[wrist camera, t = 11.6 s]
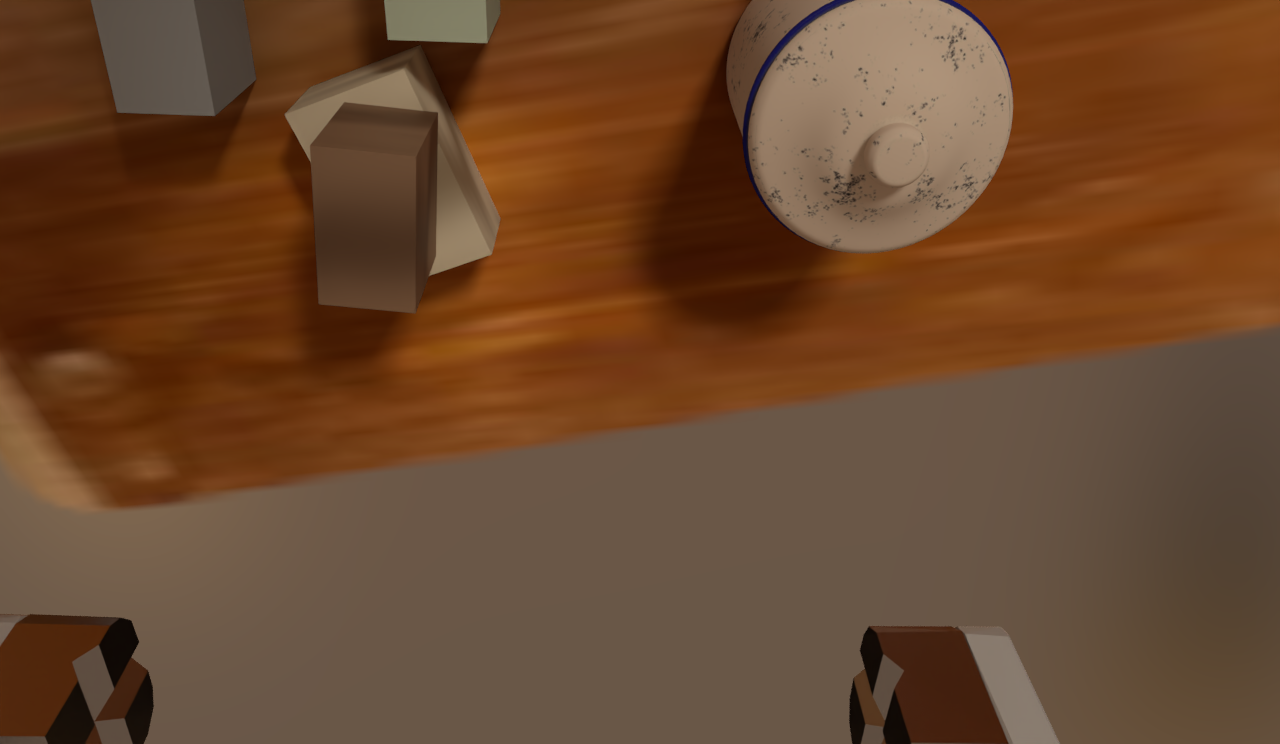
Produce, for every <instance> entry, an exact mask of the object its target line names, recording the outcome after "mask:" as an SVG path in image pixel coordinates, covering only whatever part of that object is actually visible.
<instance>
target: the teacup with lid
mask: <svg viewBox="0 0 1280 744" xmlns="http://www.w3.org/2000/svg"><path fill="white" fill-rule="evenodd" d="M726 80H727V89H728V94H729V99H730V102H731V105H732V109H733V111H734V114H735V117H736V120H737V123H738V125H739V128H740V131H741V134H742V137H743V151H744V158H745V163H746V168H747V171H748V174H749V177H750V180H751V182H752V184H753V187H754V189H755V191H756V193H757V195H758V196H759V198H760V200H761V201H762V203H763V204H764V205H765V207H766V208H767V210H768V211H769V212H770V213H771V214H772V215H773V216H774V217H775V219H776V220H778V221H779V222H780V223H781V224H782V225H783V226H784V227H786V228H787V229H788V230H790V231H791V232H793V233H794V234H796V235H798V236H799V237H801V238H803V239H805V240H807V241H809V242H811V243H814V244H816V245H819V246H822V247H825V248H828V249H832V250H836V251H841V252H849V253H878V252H884V251H890V250H895V249H899V248H902V247H905V246H908V245H912V244H914V243H917V242H919V241H921V240H924V239H926V238H928V237H930V236H932V235H933V234H935V233H937V232H939V231H940V230H942V229H943V228H945V227H947V226H948V225H949V224H951V223H952V222H953V221H955V220H956V219H957V218H958V217H959V216H961V215H962V214H963V213H964V212H965V211H966V210H967V209H968V208H969V207H970V206H971V205H972V204H973V203H974V202H975V201H976V200H977V198H978V197H979V196H980V195H981V193H982V192H983V191H984V190H985V188H986V187H987V185H988V184H989V182H990V181H991V179H992V177H993V176H994V174H995V172H996V170H997V169H998V167H999V164H1000V162H1001V160H1002V158H1003V155H1004V152H1005V149H1006V147H1007V144H1008V140H1009V136H1010V131H1011V125H1012V116H1013V93H1012V84H1011V78H1010V73H1009V70H1008V66H1007V63H1006V60H1005V58H1004V55H1003V53H1002V51H1001V49H1000V47H999V45H998V43H997V41H996V40H995V38H994V37H993V36H992V34H991V33H990V31H989V30H988V29H987V28H986V26H985V25H984V24H983V23H982V22H981V21H980V20H979V19H978V18H977V17H976V16H975V15H974V14H972V13H971V12H970V11H969V10H967V9H966V8H964V7H963V6H961V5H960V4H958V3H957V2H955V1H953V0H752V1H751V2H750V4H749V5H748V6H747V8H746V10H745V11H744V13H743V14H742V16H741V18H740V20H739V22H738V24H737V26H736V28H735V31H734V34H733V36H732V40H731V43H730V47H729V52H728V57H727V68H726Z"/></svg>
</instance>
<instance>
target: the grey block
mask: <svg viewBox="0 0 1280 744" xmlns="http://www.w3.org/2000/svg"><path fill="white" fill-rule="evenodd" d="M91 3H92V8H93V12H94V16H95V20H96V24H97V29H98V33H99V37H100V41H101V46H102V50H103V54H104V58H105V63H106V67H107V71H108V75H109V79H110V84H111V88H112V92H113V96H114V101H115V105H116V109H117V113H141V114H171V115H200V116H216V115H217V114H218V113H219V112H220V111H221V110H222V109H224V108H225V107H226V106H227V105H228V104H229V103H230V102H231V101H233V100H234V99H235V98H236V97H237V96H238V95H239V94H241V93H242V92H243V91H244V90H245V89H246V88H247V87H248V86H250V85H251V84H252V83H253V82H254V81H255V80H256V75H255V69H254V62H253V56H252V50H251V44H250V37H249V31H248V25H247V19H246V12H245V6H244V0H91Z"/></svg>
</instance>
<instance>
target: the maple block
mask: <svg viewBox="0 0 1280 744" xmlns="http://www.w3.org/2000/svg"><path fill="white" fill-rule="evenodd" d="M344 102H348V103H357V104H366V105H375V106H384V107H393V108H402V109H411V110H420V111H429V112H438V155H437V224H436V257H435V260H434V263H433V266H432V269H431V272H430V274H429V276H430V275H433V274H436V273H439V272H442V271H445V270H448V269H451V268H454V267H457V266H460V265H462V264H465V263H468V262H471V261H474V260H477V259H480V258H483V257H486V256H489V255H492V252H493V248H494V244H495V240H496V235H497V231H498V227H499V223H500V216H499V214H498V212H497V210H496V208H495V206H494V203H493V201H492V199H491V197H490V195H489V193H488V190H487V188H486V186H485V184H484V182H483V180H482V177H481V175H480V173H479V171H478V169H477V166H476V164H475V162H474V160H473V158H472V156H471V153H470V151H469V149H468V147H467V145H466V143H465V140H464V138H463V136H462V134H461V132H460V130H459V127H458V125H457V123H456V121H455V119H454V117H453V114H452V112H451V110H450V108H449V106H448V104H447V101H446V99H445V97H444V95H443V93H442V91H441V88H440V86H439V84H438V82H437V80H436V78H435V75H434V73H433V71H432V69H431V67H430V65H429V62H428V60H427V58H426V56H425V54H424V51H423V49H422V47H421V45H419V46H416V47H414V48H411V49H408V50H406V51H403V52H401V53H398V54H395V55H393V56H390V57H387V58H385V59H382V60H380V61H377V62H374V63H372V64H369V65H367V66H364V67H361V68H359V69H356V70H354V71H351V72H348V73H346V74H343V75H340V76H338V77H335V78H333V79H330V80H327V81H325V82H322V83H320V84H317V85H314V86H312V87H310V88H309V89H308V90H307V91H306V92H305V93H304V94H303V95H302V96H301V97H300V98H299V99H298V100H297V102H296V103H295V104H294V105H293V106H292V107H291V108H290V109H289V110H288V111H287V112H286V113H285V114H284V115H285V117H286V119H287V121H288V122H289V124H290V126H291V128H292V130H293V131H294V133H295V135H296V137H297V139H298V140H299V142H300V144H301V146H302V148H303V149H304V151H305V153H306V155H307V157H308V159H309V160H310V162H311V156H310V145H311V144H312V142H313V141H314V140H315V138H316V137H317V136H318V135H319V133H320V132H321V131H322V130H323V128H324V127H325V126H326V125H327V123H328V122H329V121H330V120H331V118H332V117H333V116H334V115H335V113H336V112H337V111H338V110H339V108H340V107H341V106H342V104H343V103H344Z"/></svg>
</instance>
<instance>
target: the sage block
mask: <svg viewBox="0 0 1280 744" xmlns="http://www.w3.org/2000/svg"><path fill="white" fill-rule="evenodd" d="M384 4H385V15H386V25H387V36H388V40H406V41H436V42H467V43H488V41H489V38H490V36H491V34H492V32H493V29H494V27H495V25H496V22H497V20H498V18H499V16H500V0H384Z"/></svg>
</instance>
